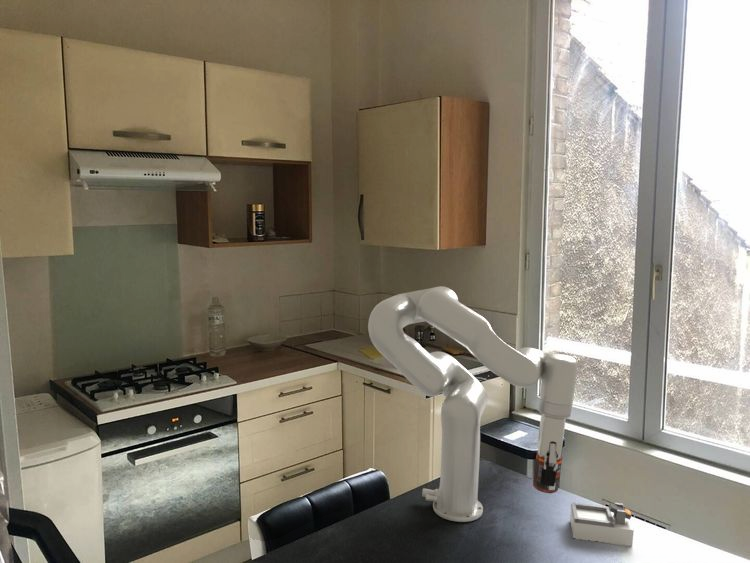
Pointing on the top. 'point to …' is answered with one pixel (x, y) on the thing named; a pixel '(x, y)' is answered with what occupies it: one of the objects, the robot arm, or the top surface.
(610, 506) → the breaker lever
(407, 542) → the top surface
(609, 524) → the box
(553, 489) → the supplement bottle
